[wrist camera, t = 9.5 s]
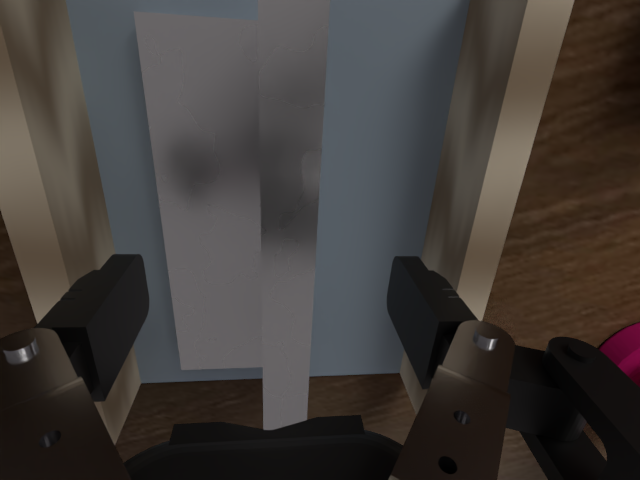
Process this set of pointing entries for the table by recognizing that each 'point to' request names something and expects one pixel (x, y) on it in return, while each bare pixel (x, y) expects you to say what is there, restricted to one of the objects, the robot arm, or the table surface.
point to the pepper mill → (625, 351)
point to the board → (336, 165)
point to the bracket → (240, 186)
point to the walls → (88, 197)
